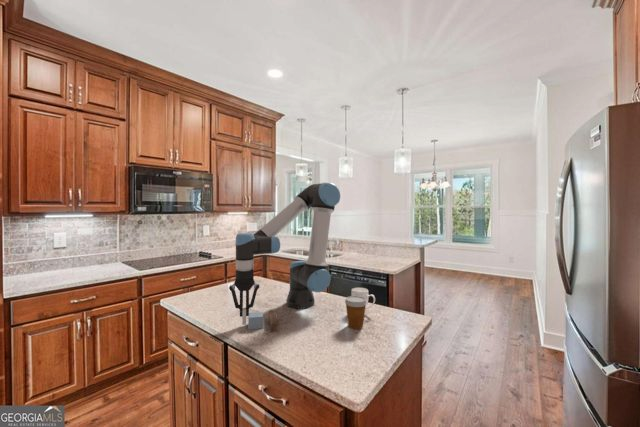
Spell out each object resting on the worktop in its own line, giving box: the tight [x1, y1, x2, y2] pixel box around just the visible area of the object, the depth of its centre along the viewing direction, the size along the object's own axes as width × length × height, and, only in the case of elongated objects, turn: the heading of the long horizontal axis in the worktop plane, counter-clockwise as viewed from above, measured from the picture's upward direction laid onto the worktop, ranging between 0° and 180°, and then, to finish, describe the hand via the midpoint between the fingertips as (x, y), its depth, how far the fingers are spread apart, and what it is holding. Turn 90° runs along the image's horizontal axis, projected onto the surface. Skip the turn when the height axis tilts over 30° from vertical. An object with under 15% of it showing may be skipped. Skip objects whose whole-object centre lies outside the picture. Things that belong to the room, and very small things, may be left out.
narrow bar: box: [268, 309, 279, 333], centre depth 126 cm, size 3×16×4 cm, turn 13°
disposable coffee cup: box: [344, 295, 368, 330], centre depth 125 cm, size 10×10×12 cm
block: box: [247, 311, 264, 330], centre depth 125 cm, size 6×6×5 cm
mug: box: [350, 287, 376, 311], centre depth 141 cm, size 12×8×11 cm
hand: (244, 323), depth 124 cm, fingers closed
